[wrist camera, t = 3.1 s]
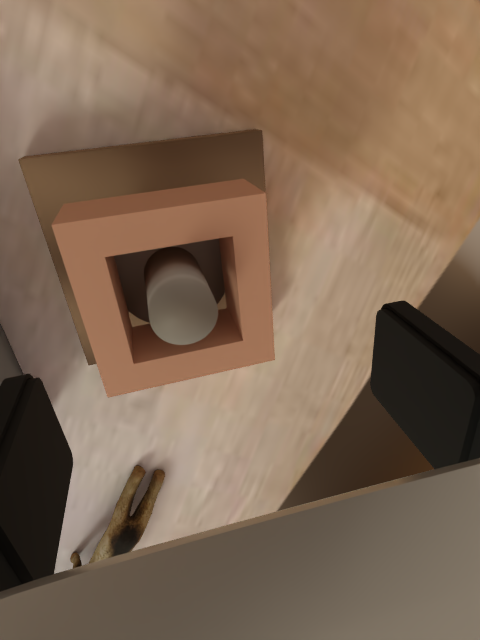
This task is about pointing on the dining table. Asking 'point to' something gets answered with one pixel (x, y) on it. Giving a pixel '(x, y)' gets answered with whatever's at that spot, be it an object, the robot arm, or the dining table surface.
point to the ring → (158, 232)
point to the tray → (7, 359)
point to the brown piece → (157, 264)
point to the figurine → (127, 518)
